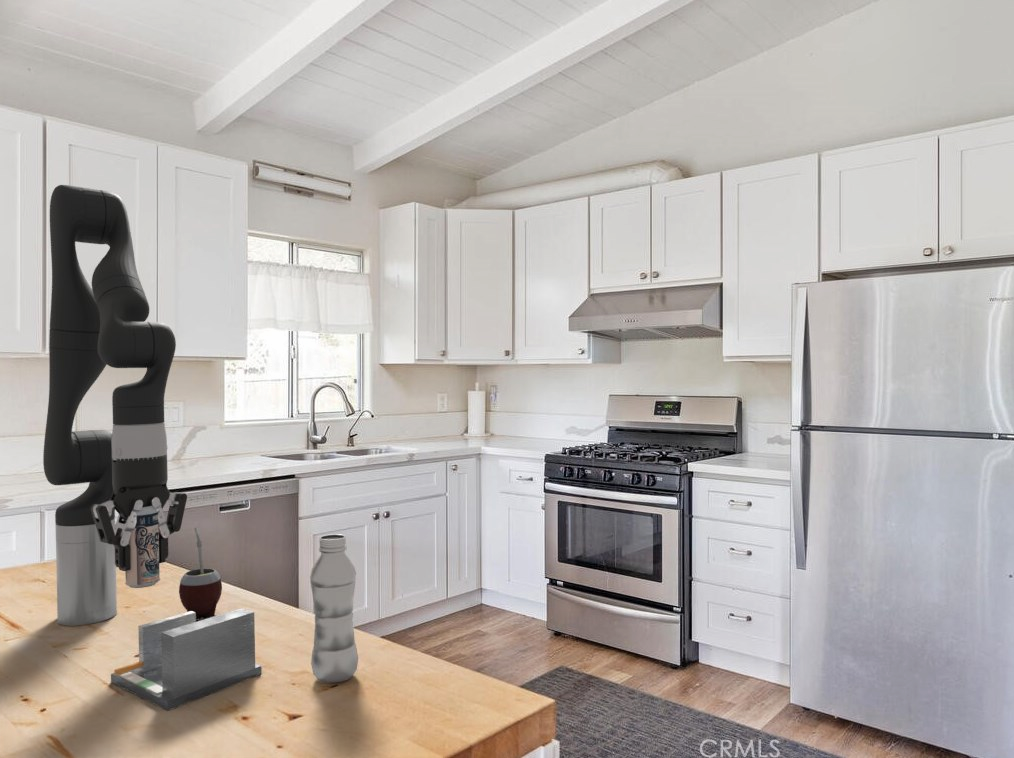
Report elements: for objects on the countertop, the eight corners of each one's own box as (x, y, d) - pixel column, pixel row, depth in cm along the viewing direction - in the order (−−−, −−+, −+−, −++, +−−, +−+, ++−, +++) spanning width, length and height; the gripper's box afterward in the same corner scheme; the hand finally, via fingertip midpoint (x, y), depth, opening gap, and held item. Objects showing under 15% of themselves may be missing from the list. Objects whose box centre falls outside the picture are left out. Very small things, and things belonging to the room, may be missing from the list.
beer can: (146, 589, 110) (144, 508, 110) (117, 588, 111) (116, 508, 111) (167, 580, 115) (165, 503, 115) (139, 579, 116) (138, 502, 116)
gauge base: (111, 682, 105) (109, 617, 105) (203, 651, 116) (202, 592, 116) (167, 710, 96) (165, 639, 96) (261, 674, 107) (260, 610, 107)
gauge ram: (111, 675, 103) (111, 632, 103) (190, 649, 113) (189, 610, 112) (117, 678, 102) (116, 635, 102) (196, 652, 112) (195, 612, 111)
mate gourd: (202, 625, 128) (200, 538, 128) (166, 620, 131) (164, 535, 130) (232, 612, 135) (231, 529, 135) (197, 607, 138) (196, 526, 137)
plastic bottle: (317, 692, 100) (315, 544, 100) (306, 674, 106) (304, 535, 106) (364, 683, 103) (362, 539, 103) (351, 666, 109) (348, 530, 109)
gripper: (172, 448, 121) (174, 553, 121) (78, 457, 109) (80, 573, 109) (197, 450, 116) (199, 559, 116) (102, 460, 105) (105, 581, 105)
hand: (142, 565), depth 113 cm, fingers closed on beer can, 4 cm apart
